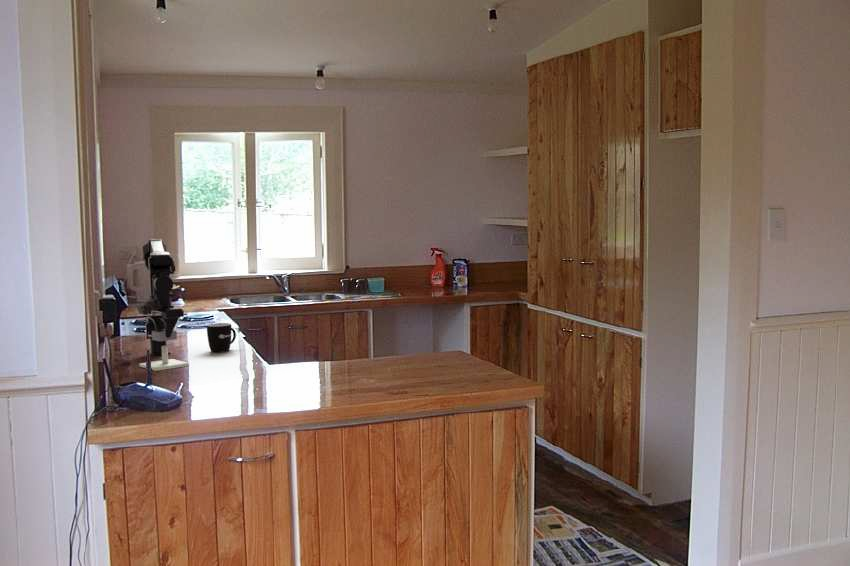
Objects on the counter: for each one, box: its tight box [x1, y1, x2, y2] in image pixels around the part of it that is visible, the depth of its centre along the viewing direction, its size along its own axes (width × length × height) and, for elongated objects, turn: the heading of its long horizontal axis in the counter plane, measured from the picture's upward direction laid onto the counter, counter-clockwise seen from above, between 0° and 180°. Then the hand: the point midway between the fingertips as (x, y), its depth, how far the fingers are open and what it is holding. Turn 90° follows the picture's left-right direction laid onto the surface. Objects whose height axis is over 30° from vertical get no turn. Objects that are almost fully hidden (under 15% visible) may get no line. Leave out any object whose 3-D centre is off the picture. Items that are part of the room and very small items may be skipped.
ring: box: [152, 329, 178, 342], centre depth 278 cm, size 6×6×3 cm
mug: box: [206, 322, 237, 354], centre depth 309 cm, size 12×9×10 cm
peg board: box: [139, 345, 190, 372], centre depth 279 cm, size 12×12×7 cm
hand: (164, 336), depth 278 cm, fingers closed on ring, 6 cm apart
